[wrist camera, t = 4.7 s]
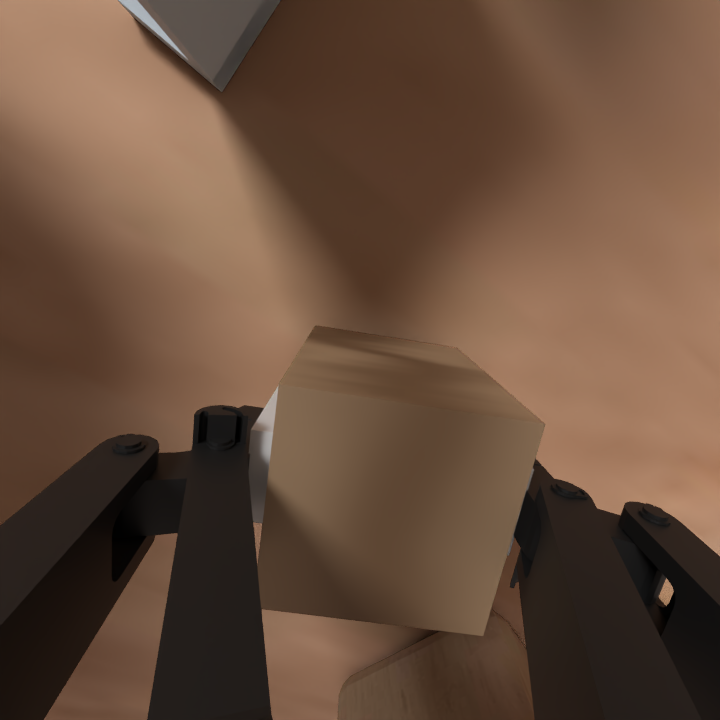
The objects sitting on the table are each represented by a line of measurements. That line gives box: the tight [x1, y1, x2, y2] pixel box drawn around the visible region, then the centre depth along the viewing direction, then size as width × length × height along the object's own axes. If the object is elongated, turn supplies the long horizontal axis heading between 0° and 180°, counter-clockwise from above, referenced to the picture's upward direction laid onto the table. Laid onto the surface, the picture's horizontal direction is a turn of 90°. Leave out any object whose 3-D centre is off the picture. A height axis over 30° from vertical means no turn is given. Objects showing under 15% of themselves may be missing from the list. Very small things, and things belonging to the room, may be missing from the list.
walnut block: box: [257, 326, 545, 636], centre depth 13 cm, size 6×6×8 cm
